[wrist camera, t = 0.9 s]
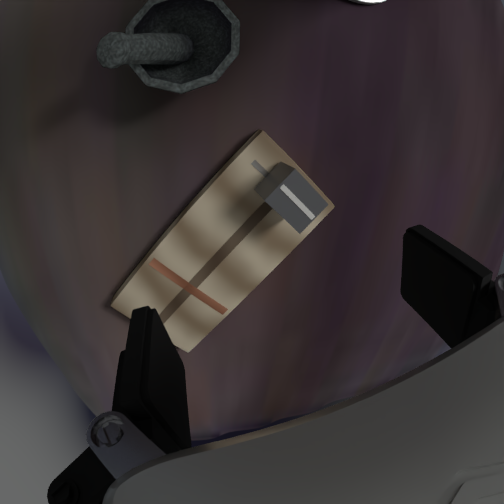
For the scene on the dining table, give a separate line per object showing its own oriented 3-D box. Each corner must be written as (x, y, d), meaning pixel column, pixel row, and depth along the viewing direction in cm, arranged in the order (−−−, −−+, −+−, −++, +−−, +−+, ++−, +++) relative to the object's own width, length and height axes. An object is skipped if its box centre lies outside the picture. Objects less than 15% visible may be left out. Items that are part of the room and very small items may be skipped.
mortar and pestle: (215, 3, 24) (233, -47, 14) (241, 78, 29) (273, 59, 18) (111, 39, 24) (77, 4, 13) (137, 115, 28) (112, 115, 17)
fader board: (258, 129, 31) (263, 130, 29) (327, 201, 36) (335, 206, 35) (113, 296, 36) (110, 306, 34) (187, 342, 41) (188, 353, 39)
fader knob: (280, 161, 31) (295, 168, 27) (311, 193, 33) (329, 204, 29) (253, 189, 32) (264, 200, 28) (285, 219, 34) (300, 234, 30)
